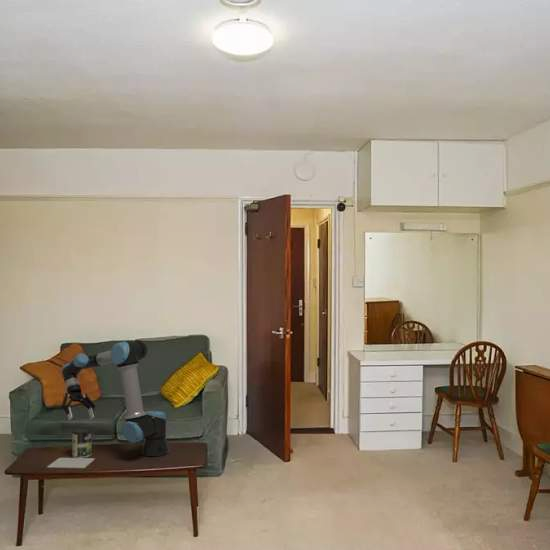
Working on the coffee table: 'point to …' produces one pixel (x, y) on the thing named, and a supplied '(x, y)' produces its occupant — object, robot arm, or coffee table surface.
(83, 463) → the mat
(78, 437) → the coffee can
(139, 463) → the coffee table surface
